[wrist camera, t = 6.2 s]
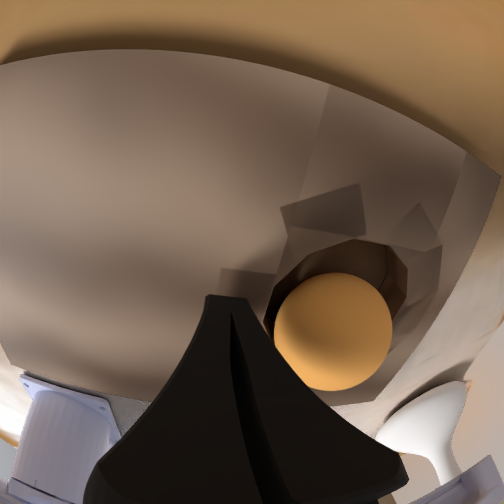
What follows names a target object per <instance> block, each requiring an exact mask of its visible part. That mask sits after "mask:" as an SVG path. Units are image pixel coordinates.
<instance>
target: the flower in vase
mask: <svg viewBox="0 0 504 504" xmlns="http://www.w3.org/2000/svg"><path fill="white" fill-rule="evenodd" d="M466 397H467V387H466V384H465V383H463V382H460V381H452V382H449V383H446V384H443V385H440V386H438V387H435V388H433V389H431V390H429V391H427V392H426V393H424V394H422V395H420V396H419V397H417V398H415V399H414V400H412V401H411V402H409V403H408V404H406V405H405V406H404V407H402V408H401V409H400V410H398V411H397V412H396V413H394V414H393V415H392V416H391V417H390V418H389V419H388V420H387V421H386V422H385V423H384V424H383V425H382V426H381V427H380V429H379V430H378V432H377V435H376V439H375V440H376V441H378V442H379V443H381V444H383V445H385V446H387V447H388V448H390V449H392V450H394V451H398V452H404V453H412V454H418V455H422V456H424V457H426V458H428V459H429V460H430V461H431V462H432V464H433V466H434V468H435V470H436V472H437V475H438V478H439V480H440V485H441V486H442V485H443V484H445V483H447V482H449V481H450V480H452V479H454V478H455V477H457V476H458V475H460V474H462V471H461V470H460V468H459V466H458V464H457V462H456V460H455V458H454V455H453V453H452V448H451V440H452V436H453V433H454V430H455V427H456V425H457V423H458V420H459V418H460V416H461V413H462V410H463V408H464V405H465V401H466ZM501 504H504V501H503V502H502V503H501Z"/></svg>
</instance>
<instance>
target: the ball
mask: <svg viewBox="0 0 504 504" xmlns="http://www.w3.org/2000/svg"><path fill="white" fill-rule="evenodd" d="M391 340H392V320H391V315H390V312H389V309H388V306H387V304H386V302H385V300H384V299H383V297H382V296H381V294H380V293H379V292H378V291H377V290H376V289H375V288H374V287H373V286H372V285H371V284H369V283H368V282H366V281H365V280H363V279H361V278H359V277H356V276H354V275H350V274H346V273H325V274H321V275H317V276H314V277H312V278H310V279H307V280H306V281H304V282H302V283H301V284H300V285H298V286H297V287H296V288H295V289H294V290H292V291H291V292H290V294H289V295H288V296H287V297H286V299H285V300H284V302H283V303H282V305H281V307H280V309H279V312H278V314H277V317H276V321H275V327H274V341H275V346H276V348H277V349H278V351H279V352H280V353H281V355H282V356H283V357H284V359H285V360H286V361H287V363H288V364H289V365H290V366H291V368H292V369H293V370H294V371H295V372H296V374H297V375H298V376H299V377H300V378H301V379H302V381H303V382H304V383H305V384H306V385H307V386H309V387H311V388H314V389H318V390H324V391H337V390H344V389H348V388H351V387H353V386H356V385H358V384H360V383H362V382H363V381H365V380H366V379H368V378H369V377H370V376H371V375H372V374H374V373H375V371H376V370H377V369H378V368H379V367H380V365H381V364H382V363H383V361H384V359H385V357H386V355H387V353H388V350H389V348H390V344H391Z"/></svg>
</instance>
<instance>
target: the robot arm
mask: <svg viewBox="0 0 504 504" xmlns="http://www.w3.org/2000/svg"><path fill="white" fill-rule="evenodd" d="M19 379H20V381H21V383H22V384H23V386H24V387H25V389H26V391H27V392H28V394H29V395H30V397H31V398H32V400H33V401H32V404H31V406H30V409H29V412H28V415H27V418H26V421H25V424H24V427H23V431H22V434H21V437H20V441H19V444H18V448H17V452H16V456H15V460H14V464H13V468H12V473H11V478H9V479H8V483H7V482H6V480H4V479H2V478H0V504H379V502H378V499H379V498H382V497H384V496H386V495H388V494H390V493H392V492H394V491H396V490H398V489H399V488H401V487H403V486H404V485H406V484H407V482H408V481H409V478H408V475H407V472H406V470H405V467H404V465H403V462H402V460H401V458H400V455H399V453H398V452H396V451H394V450H392V449H390V448H388V447H387V446H385V445H383V444H381V443H379V442H378V441H376V440H374V439H372V438H371V437H369V436H368V435H366V434H364V433H363V432H362V431H360V430H359V429H357V428H356V427H354V426H353V425H352V424H350V423H349V422H347V421H346V420H345V419H344V418H342V417H341V416H340V415H339V414H337V413H336V412H335V411H334V410H333V409H332V408H330V407H329V406H328V405H327V404H326V403H325V402H323V401H322V400H321V399H320V398H319V397H318V396H317V395H316V394H315V393H314V392H313V391H312V390H311V389H310V388H309V387H308V386H307V385H306V384H305V383H304V382H303V381H302V379H301V378H300V377H299V376H298V375H297V374H296V372H295V371H294V370H293V369H292V368H291V366H290V365H289V364H288V363H287V361H286V360H285V359H284V357H283V356H282V355H281V353H280V352H279V351H278V349H277V348H276V346H275V345H274V343H273V342H272V340H271V339H270V337H269V336H268V334H267V333H266V331H265V330H264V328H263V326H262V325H261V323H260V321H259V320H258V318H257V316H256V315H255V313H254V311H253V309H252V307H251V305H250V304H249V302H248V300H247V299H246V298H239V297H230V296H221V295H213V294H209V295H207V296H205V302H204V308H203V313H202V315H201V318H200V321H199V324H198V326H197V328H196V331H195V333H194V335H193V337H192V340H191V342H190V343H189V345H188V347H187V349H186V351H185V353H184V355H183V357H182V359H181V360H180V362H179V364H178V365H177V367H176V369H175V370H174V372H173V373H172V375H171V376H170V378H169V380H168V381H167V383H166V384H165V385H164V387H163V388H162V390H161V391H160V392H159V394H158V395H157V397H156V398H155V399H154V401H153V402H152V403H151V404H150V406H149V407H148V408H147V410H146V411H145V412H144V413H143V414H142V415H141V417H140V418H139V419H138V420H137V421H136V422H135V423H134V425H133V426H132V427H131V428H130V429H129V430H128V431H127V433H126V434H125V435H124V436H123V437H121V435H120V432H119V430H118V427H117V425H116V422H115V419H114V417H113V414H112V411H111V409H110V406H109V403H108V401H106V400H105V399H103V398H99V397H95V396H91V395H87V394H83V393H79V392H76V391H72V390H68V389H65V388H62V387H58V386H55V385H52V384H49V383H46V382H43V381H40V380H37V379H34V378H32V377H29V376H26V375H23V374H21V375H20V377H19ZM6 483H7V485H6ZM503 501H504V484H503V481H502V479H501V477H500V474H499V472H498V470H497V468H496V465H495V463H494V461H493V459H492V457H491V455H488V456H486V457H485V458H484V459H482V460H481V461H480V462H478V463H477V464H475V465H474V466H472V467H471V468H469V469H468V470H467V471H465V472H464V473H462V474H460V475H458V476H457V477H455V478H454V479H452V480H450V481H449V482H447V483H445V484H443V485H442V486H440V487H438V488H436V489H435V490H434V491H432V492H431V493H429V494H427V495H425V496H423V497H421V498H419V499H417V500H415V501H413V502H411V503H409V504H501V503H502V502H503Z"/></svg>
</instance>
